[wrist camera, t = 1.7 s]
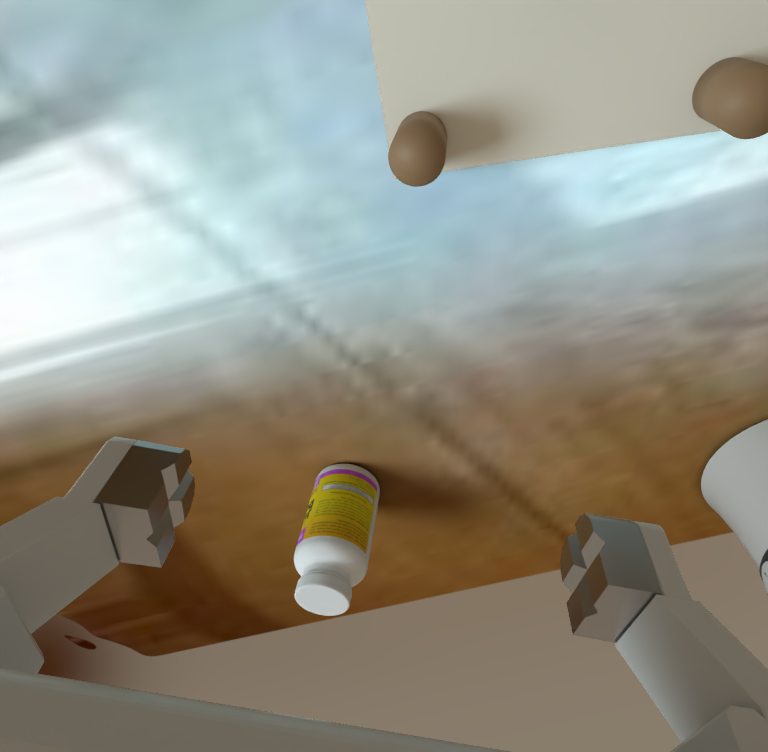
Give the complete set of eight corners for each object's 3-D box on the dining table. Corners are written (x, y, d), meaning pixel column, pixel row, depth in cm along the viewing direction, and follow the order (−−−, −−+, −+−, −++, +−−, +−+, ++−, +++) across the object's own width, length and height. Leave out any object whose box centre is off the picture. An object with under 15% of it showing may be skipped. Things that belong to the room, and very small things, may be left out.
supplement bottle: (314, 457, 52) (277, 573, 42) (380, 463, 51) (359, 582, 41) (319, 501, 56) (287, 617, 46) (381, 507, 55) (362, 626, 45)
